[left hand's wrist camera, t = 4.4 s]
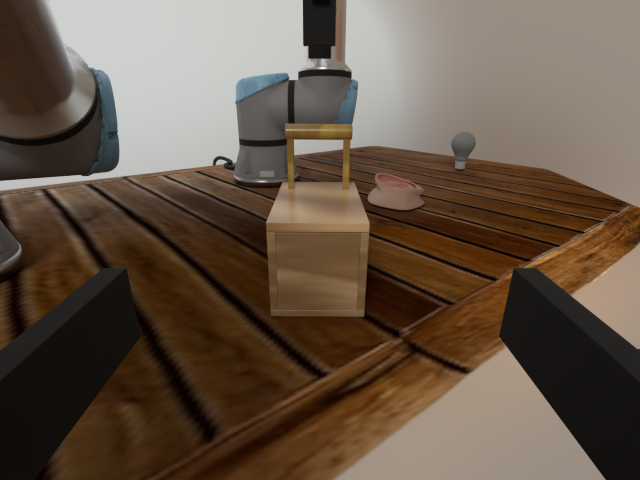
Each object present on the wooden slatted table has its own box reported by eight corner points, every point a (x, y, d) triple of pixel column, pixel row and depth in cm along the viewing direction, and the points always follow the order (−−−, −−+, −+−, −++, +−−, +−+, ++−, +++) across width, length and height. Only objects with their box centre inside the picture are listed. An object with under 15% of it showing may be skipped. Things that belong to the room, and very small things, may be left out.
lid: (282, 188, 46) (280, 121, 43) (354, 189, 46) (356, 121, 43) (266, 231, 32) (261, 136, 29) (369, 232, 32) (374, 137, 29)
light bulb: (451, 171, 99) (456, 132, 95) (445, 167, 104) (450, 130, 101) (474, 172, 98) (480, 133, 95) (467, 167, 104) (473, 130, 100)
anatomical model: (423, 190, 64) (359, 185, 67) (421, 212, 65) (358, 206, 69) (430, 175, 75) (374, 171, 79) (428, 194, 77) (373, 189, 80)
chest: (284, 253, 49) (282, 190, 46) (351, 254, 49) (354, 190, 46) (270, 316, 35) (266, 232, 32) (364, 317, 35) (369, 233, 32)
